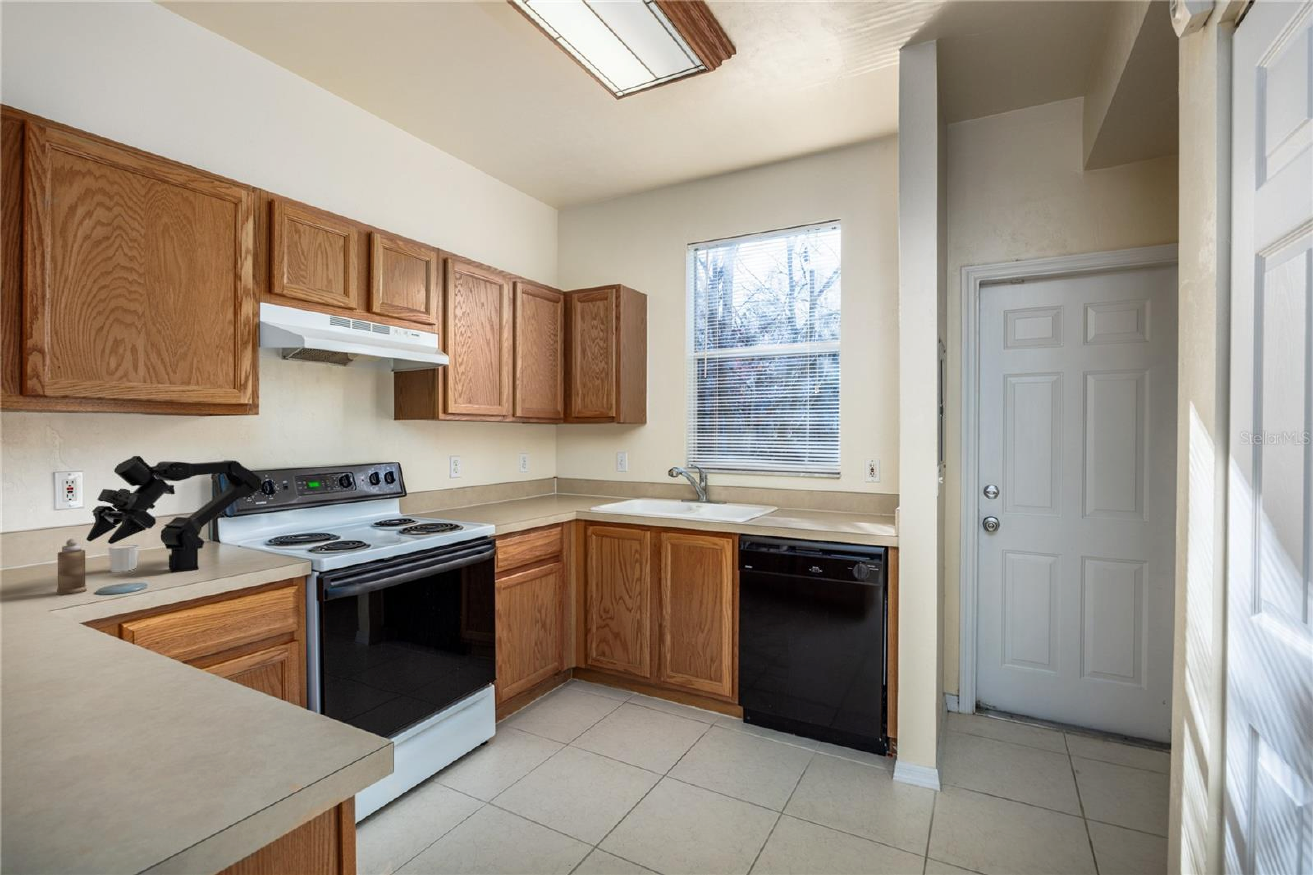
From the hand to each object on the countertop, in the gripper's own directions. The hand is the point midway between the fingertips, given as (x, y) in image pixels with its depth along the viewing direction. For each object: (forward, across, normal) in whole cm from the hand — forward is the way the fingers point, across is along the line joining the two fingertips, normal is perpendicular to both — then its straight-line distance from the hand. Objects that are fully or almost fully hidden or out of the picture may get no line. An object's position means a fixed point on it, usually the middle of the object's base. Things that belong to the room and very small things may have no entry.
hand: (98, 541), depth 165 cm
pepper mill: (+13, 0, +4) cm, 13 cm away
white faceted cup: (-2, -16, +19) cm, 25 cm away
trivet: (+8, +9, +9) cm, 15 cm away
